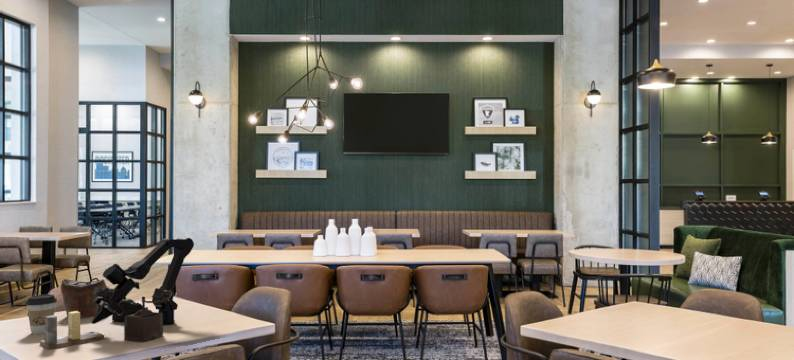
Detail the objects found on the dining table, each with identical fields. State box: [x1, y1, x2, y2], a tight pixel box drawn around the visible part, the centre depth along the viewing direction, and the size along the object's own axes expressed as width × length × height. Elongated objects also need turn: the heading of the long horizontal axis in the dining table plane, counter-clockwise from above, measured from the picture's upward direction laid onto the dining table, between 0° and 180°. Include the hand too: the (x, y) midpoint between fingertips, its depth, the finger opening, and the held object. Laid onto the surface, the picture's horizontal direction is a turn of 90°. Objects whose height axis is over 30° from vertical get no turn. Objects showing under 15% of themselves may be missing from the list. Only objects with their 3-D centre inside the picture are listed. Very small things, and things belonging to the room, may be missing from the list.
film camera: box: [111, 298, 149, 323], centre depth 254 cm, size 18×12×10 cm
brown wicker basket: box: [60, 277, 108, 319], centre depth 267 cm, size 18×20×18 cm
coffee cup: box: [25, 293, 58, 335], centre depth 234 cm, size 11×11×15 cm
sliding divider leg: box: [67, 311, 81, 340], centre depth 218 cm, size 3×8×10 cm, turn 47°
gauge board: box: [39, 314, 105, 350], centre depth 218 cm, size 20×10×12 cm, turn 137°
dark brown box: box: [123, 290, 172, 343], centre depth 225 cm, size 16×11×18 cm
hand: (92, 323), depth 222 cm, fingers closed
